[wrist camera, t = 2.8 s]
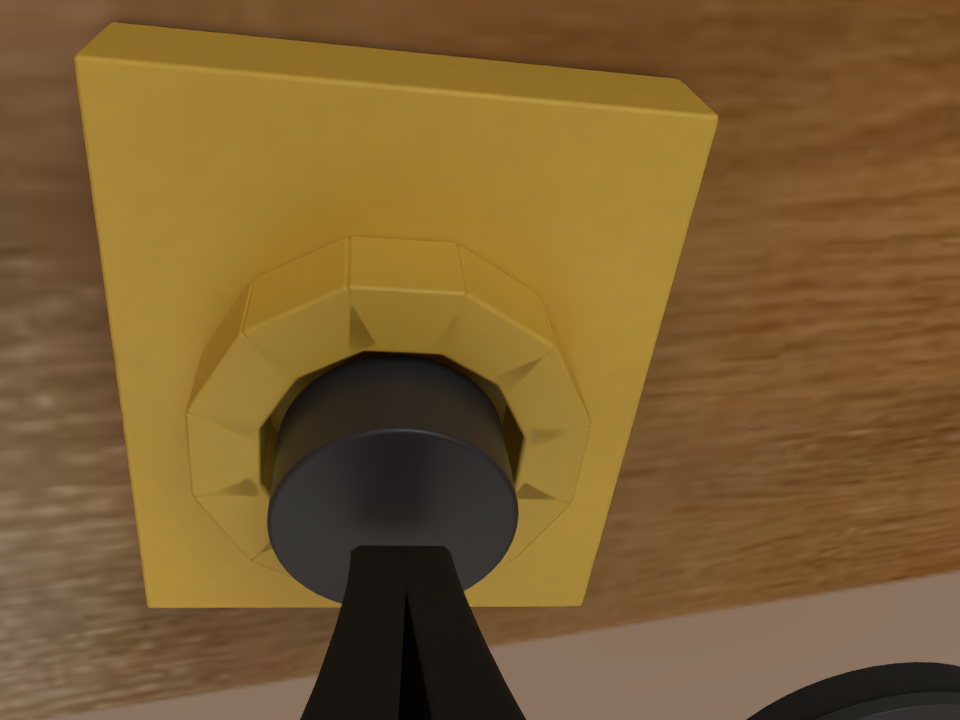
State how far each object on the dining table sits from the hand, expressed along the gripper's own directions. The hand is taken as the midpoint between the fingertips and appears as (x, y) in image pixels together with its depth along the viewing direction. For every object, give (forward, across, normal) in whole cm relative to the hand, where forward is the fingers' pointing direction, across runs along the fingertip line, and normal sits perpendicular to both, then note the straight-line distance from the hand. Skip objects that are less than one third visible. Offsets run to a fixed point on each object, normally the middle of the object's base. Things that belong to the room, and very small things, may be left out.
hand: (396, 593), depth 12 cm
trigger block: (+7, 0, 0) cm, 7 cm away
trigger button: (+3, 0, 0) cm, 3 cm away
